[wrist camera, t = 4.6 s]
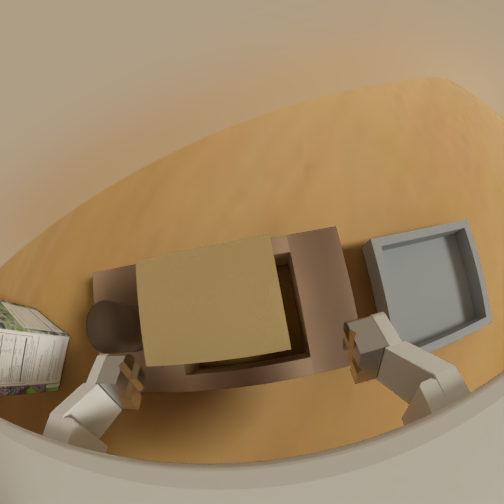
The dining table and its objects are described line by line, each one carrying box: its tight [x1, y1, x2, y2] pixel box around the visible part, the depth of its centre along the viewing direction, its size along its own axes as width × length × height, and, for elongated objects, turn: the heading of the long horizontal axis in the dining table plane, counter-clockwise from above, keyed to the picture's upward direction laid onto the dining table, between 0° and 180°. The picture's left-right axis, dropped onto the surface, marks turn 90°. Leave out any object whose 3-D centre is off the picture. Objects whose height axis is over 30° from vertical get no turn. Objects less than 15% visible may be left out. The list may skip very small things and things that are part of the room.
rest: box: [362, 219, 492, 353], centre depth 16 cm, size 9×8×2 cm
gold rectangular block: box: [136, 234, 291, 367], centre depth 13 cm, size 4×4×10 cm
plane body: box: [86, 226, 358, 393], centre depth 15 cm, size 16×8×6 cm, turn 100°
